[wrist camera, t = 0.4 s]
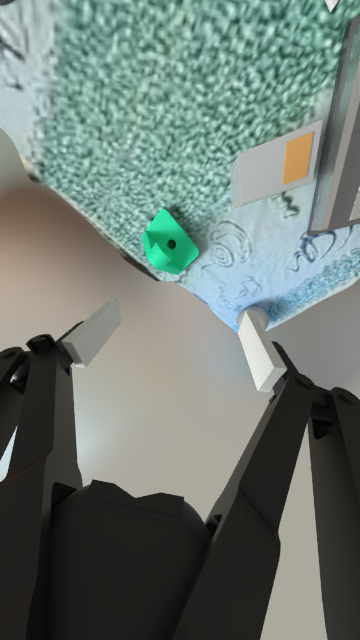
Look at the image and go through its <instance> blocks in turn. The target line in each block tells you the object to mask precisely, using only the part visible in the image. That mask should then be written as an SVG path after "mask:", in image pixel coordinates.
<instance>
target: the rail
mask: <svg viewBox="0 0 360 640" xmlns="http://www.w3.org/2000/svg"><path fill="white" fill-rule="evenodd" d="M359 223H360V15H359V16H357V17H355V18H353V19H352V20H351V21H350V23H349V24H348V25H347V27H346V28H345V33H344V38H343V44H342V49H341V54H340V60H339V65H338V70H337V76H336V81H335V87H334V92H333V97H332V103H331V108H330V113H329V119H328V124H327V130H326V135H325V140H324V146H323V151H322V156H321V162H320V167H319V172H318V178H317V183H316V189H315V194H314V199H313V205H312V210H311V215H310V221H309V226H308V231H307V236H311V235H315V234H319V233H323V232H327V231H331V230H335V229H339V228H343V227H347V226H351V225H355V224H359Z"/></svg>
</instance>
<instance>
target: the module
mask: <svg viewBox="0 0 360 640" xmlns="http://www.w3.org/2000/svg"><path fill="white" fill-rule="evenodd" d="M322 123H323V119H322V120H320V121H317V122H315V123H312V124H310V125H308V126H305V127H303V128H300V129H298V130H295V131H293V132H290V133H288V134H286V135H283V136H281V137H278V138H276V139H273V140H271V141H269V142H266V143H264V144H261V145H259V146H256V147H254V148H252V149H249V150H247V151H244V152H242V153H239V155H238V157H237V159H236V160H235V162H234V164H233V166H232V167H231V169H230V178H231V196H232V208H236V207H239V206H242V205H245V204H248V203H251V202H254V201H257V200H260V199H263V198H266V197H269V196H272V195H275V194H279V193H282V192H285V191H288V190H290V189H293V188H296V187H299V186H302V185H304V184H307V183H310V182H312V181H313V175H314V169H315V163H316V158H317V152H318V146H319V140H320V135H321V129H322Z"/></svg>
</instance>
